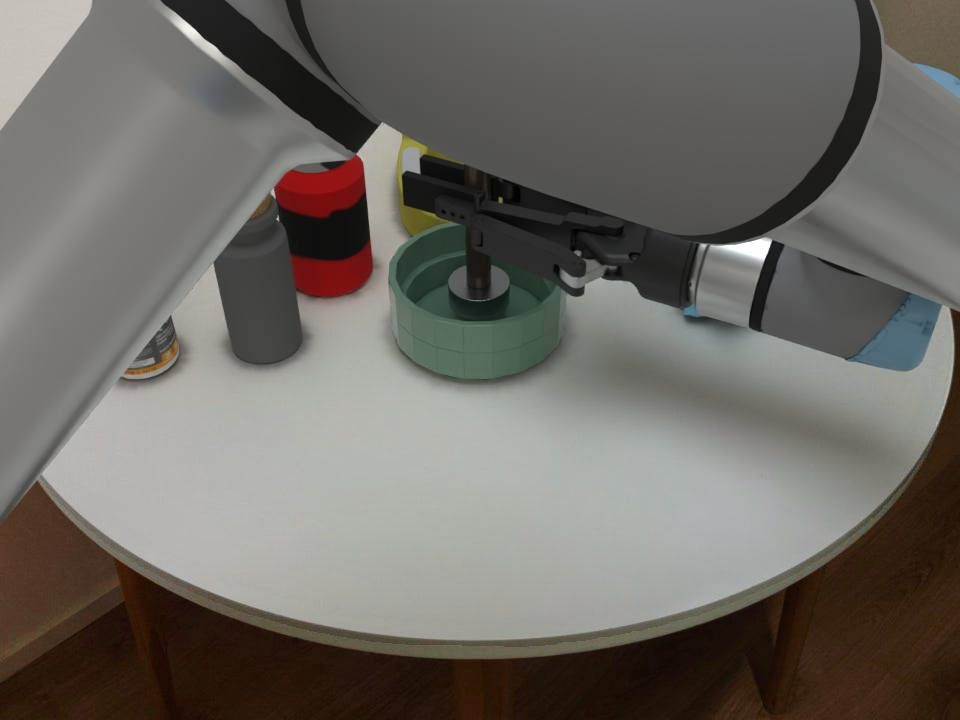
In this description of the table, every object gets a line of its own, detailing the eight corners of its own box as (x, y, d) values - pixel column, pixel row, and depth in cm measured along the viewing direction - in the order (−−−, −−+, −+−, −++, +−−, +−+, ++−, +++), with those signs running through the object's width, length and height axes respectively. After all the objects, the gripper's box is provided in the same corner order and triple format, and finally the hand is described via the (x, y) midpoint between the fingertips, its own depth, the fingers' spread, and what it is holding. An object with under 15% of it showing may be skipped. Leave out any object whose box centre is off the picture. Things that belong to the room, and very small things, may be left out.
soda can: (328, 310, 90) (313, 190, 82) (270, 275, 94) (249, 157, 86) (391, 269, 94) (381, 151, 86) (332, 238, 98) (318, 122, 90)
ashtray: (529, 134, 112) (530, 91, 109) (595, 242, 97) (598, 196, 94) (377, 155, 109) (373, 111, 106) (421, 271, 94) (418, 224, 91)
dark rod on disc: (472, 328, 84) (468, 125, 72) (436, 297, 87) (427, 97, 75) (522, 304, 86) (526, 103, 74) (485, 275, 89) (483, 77, 77)
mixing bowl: (458, 410, 81) (457, 350, 77) (361, 316, 89) (355, 258, 85) (598, 338, 87) (603, 279, 83) (494, 257, 95) (494, 201, 92)
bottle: (309, 320, 89) (287, 165, 79) (293, 366, 84) (267, 209, 75) (242, 316, 89) (210, 162, 79) (222, 362, 85) (187, 205, 75)
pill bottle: (184, 373, 84) (158, 273, 77) (110, 389, 83) (77, 288, 76) (177, 330, 88) (152, 231, 81) (106, 344, 87) (74, 245, 80)
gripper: (663, 364, 71) (366, 270, 79) (731, 248, 81) (461, 175, 89) (675, 275, 66) (357, 184, 74) (746, 162, 76) (458, 93, 84)
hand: (414, 179), depth 82 cm, fingers closed on dark rod on disc, 2 cm apart
